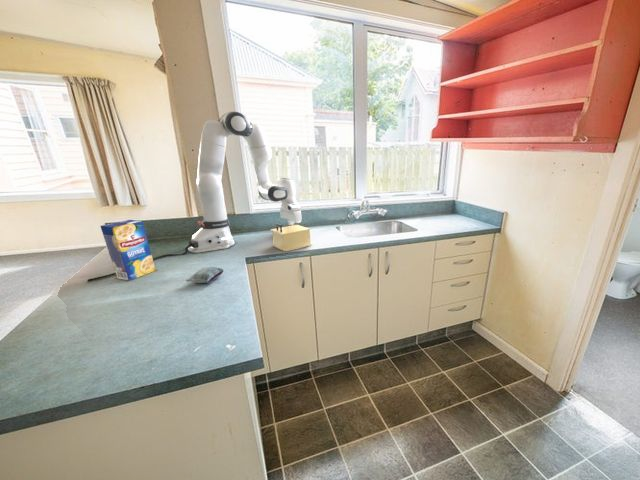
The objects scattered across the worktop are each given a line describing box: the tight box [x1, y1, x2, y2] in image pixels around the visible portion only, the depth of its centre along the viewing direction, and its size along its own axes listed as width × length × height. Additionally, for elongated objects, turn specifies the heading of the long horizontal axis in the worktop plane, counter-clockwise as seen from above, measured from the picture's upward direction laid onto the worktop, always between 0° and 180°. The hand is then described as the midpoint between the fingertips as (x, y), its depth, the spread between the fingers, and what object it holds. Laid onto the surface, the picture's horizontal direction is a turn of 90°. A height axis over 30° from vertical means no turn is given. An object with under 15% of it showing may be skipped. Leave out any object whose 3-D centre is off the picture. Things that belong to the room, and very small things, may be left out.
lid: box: [270, 222, 311, 236], centre depth 160 cm, size 16×13×5 cm
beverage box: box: [100, 219, 157, 281], centre depth 121 cm, size 7×11×22 cm, turn 164°
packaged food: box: [185, 266, 224, 284], centre depth 119 cm, size 9×12×5 cm
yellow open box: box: [271, 230, 312, 252], centre depth 162 cm, size 16×13×9 cm
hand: (291, 227), depth 185 cm, fingers closed, pressing on switch button
